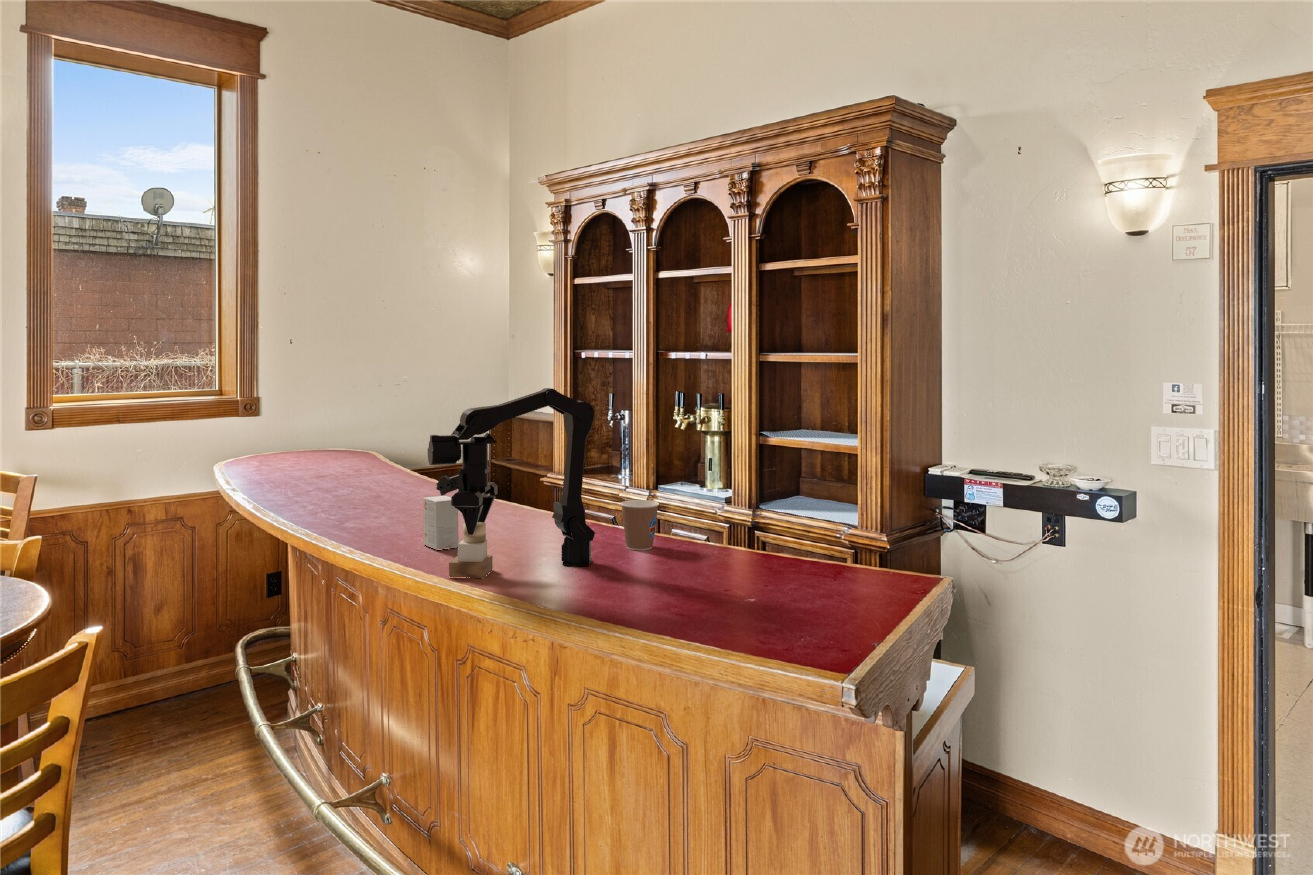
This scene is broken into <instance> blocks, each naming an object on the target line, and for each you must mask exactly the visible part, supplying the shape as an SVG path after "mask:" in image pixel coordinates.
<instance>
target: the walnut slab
mask: <svg viewBox="0 0 1313 875" xmlns="http://www.w3.org/2000/svg"><path fill="white" fill-rule="evenodd" d="M493 565H494V564H493V554H487V557H486V558H485V559H484V560H483V561H482V562H458V555H456V556H455V557H453V558H452V559H451V560H450V561H449V562H448V577H449V576H450V577H466V578H467V577H468V578H469V577H470V578H485V577H486V575H488V573H489V572H491V571H492V572H493V570H494V569H493ZM492 569H493V570H492ZM492 572H491V573H492ZM488 576H489V575H488ZM486 578H487V577H486ZM486 578H485V579H486Z"/></svg>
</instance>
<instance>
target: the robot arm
mask: <svg viewBox="0 0 1313 875" xmlns="http://www.w3.org/2000/svg"><path fill="white" fill-rule="evenodd" d="M546 407H549V408H551V409H552V410H554V411H555V412H557V413H559V414H560V415H562V418H563V427H564V431H565V433H566V450H565V460H564V462H565V463H564V474H563V475H564V476H563V477H564V478H563V486H562V495H561V497H560V500H559V501H553V513H552V516H551V518H552V519H553V520H554V524H555V526H556V528H557V529H559V530H560V531H561V534H562V536H563V537H564V538H563V543H562V544H561V562H562V566H571V567H572V566H574V567H575V566H576V567H577V566H578V567H579V566H580V567H588V566H590V565H591V564H592V561H593V558H592V541H594V538H595V535H596V532H595V531H594V530H593V529H592V528H591V527H590V526H589V525H588V524H587V522H586V509H585V507H584V503H583V502H584V501H583V499H582V495H583V494H582V493H583V481H584V480H583V479H584V469H585V468H584V467H585V457H586V455H585V454H586V445H587V444H586V443H587V438H588V436H589V434H590V432H591V430H592V427H593V425H594V419H595V415H596V414H595V413H596V412H595V409H594V407H593V406H592V404H591V403H589V402H587V401H583V400H582V401H581V400H575V399H573V398H571V397H569V396H567V395H565V394H563V393H561V392H559V391H558V390H556V389H555V388H550V387H545V388H542V389H540V390H539V391H535V392H532V393H529V394H525V395H523V396H520V397H517V398H514V399H511V400H508V401H505V402H503V403H499V404H493V405H486V406H477V407H471V408H467V409H465V410H463V412H462V413H461V415H460V418H459V423H458V425H457V426H456V427H455V429H454V430H453V432H452V433H451V435H450V434H449V435H448V434H447V435H445V434H444V435H439V434H430V435H429V441H428V446H427V447H428V448H427V461H428V464H429V466H448V465H456V464H457V462H459V461H460V460H462V464H461V465H462V468H459V469H458V474H456V475H453V476H451V477H449V476H448V475H444V476H441V477H439V478H438V481H437V482H436V483H435V484H436V488H435V489H436V490H437V491H439V494H440V496H446V495H447V494H448V493H451V492H454V491H456V490H458V491H457V492H455V493H454V494H453V495H452V496H450V497H451V506H454V507H455V508H456V509H458V512H460V513H461V515H462V517H463V521H464V523H465V525H466V528H467V532H468V534H469V535H473V534H474V531H475V528H476V525H477V522H483V523H486V520H487V518H488V515H489V514H490V513H489V512H490V511H491V508H492V506H493V503H494V502H495V499H496V495H498V490H499V489H498V488H499V487H498V485H497V483H495V481H493V482H492V481H489V472H491V466H489V451H488V450H489V445H491V444H492V445H494V444H495V445H496V444H497V443H498V441H497V440H496V439H495V438H494V437H493V436H492V435H491V433H490V432H489V431H491V430H492V429H494V428H495V429H496V427H498V426H499V425H501V423H504V422H506V421H507V420H511V419H514V418H517V417H520V416H522V415H525V414H528V413H529V414H530V413H532V412H534V411H538V410H541V409H543V408H546ZM488 432H489V433H488ZM484 434H485V435H484ZM490 494H492V495H490Z"/></svg>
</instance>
